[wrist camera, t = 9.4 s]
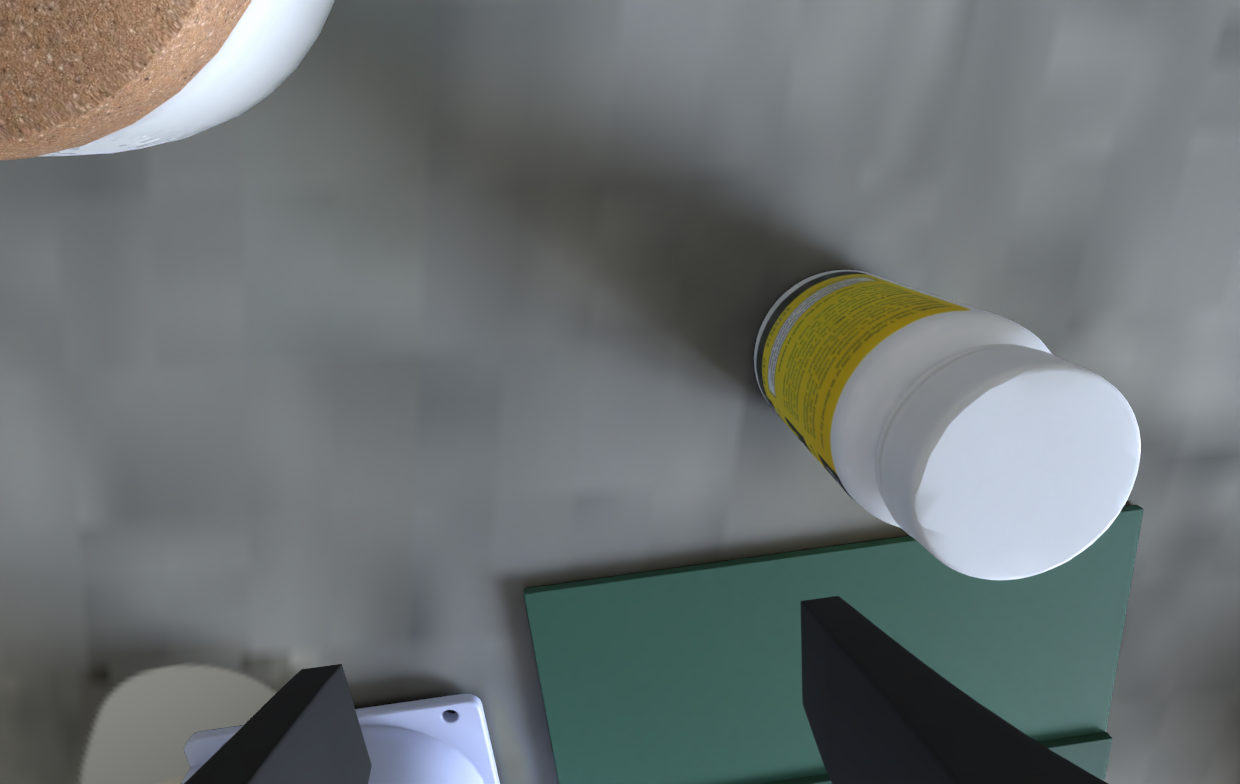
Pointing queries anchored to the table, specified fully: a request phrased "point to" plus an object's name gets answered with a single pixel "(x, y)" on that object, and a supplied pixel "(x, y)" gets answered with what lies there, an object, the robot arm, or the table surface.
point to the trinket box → (140, 68)
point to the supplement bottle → (949, 422)
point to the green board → (772, 660)
